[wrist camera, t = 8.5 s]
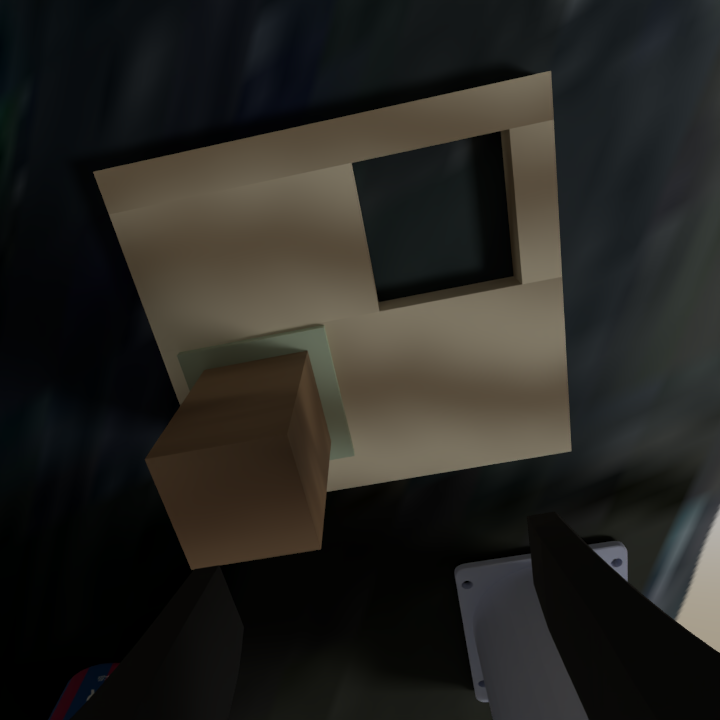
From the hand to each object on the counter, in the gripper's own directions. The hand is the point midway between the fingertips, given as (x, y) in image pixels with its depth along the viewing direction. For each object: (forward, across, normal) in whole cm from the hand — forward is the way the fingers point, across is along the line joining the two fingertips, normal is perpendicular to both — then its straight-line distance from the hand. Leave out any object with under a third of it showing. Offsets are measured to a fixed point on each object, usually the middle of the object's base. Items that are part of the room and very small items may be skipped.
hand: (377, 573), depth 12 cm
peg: (+9, +4, 0) cm, 10 cm away
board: (+10, 0, -3) cm, 11 cm away
